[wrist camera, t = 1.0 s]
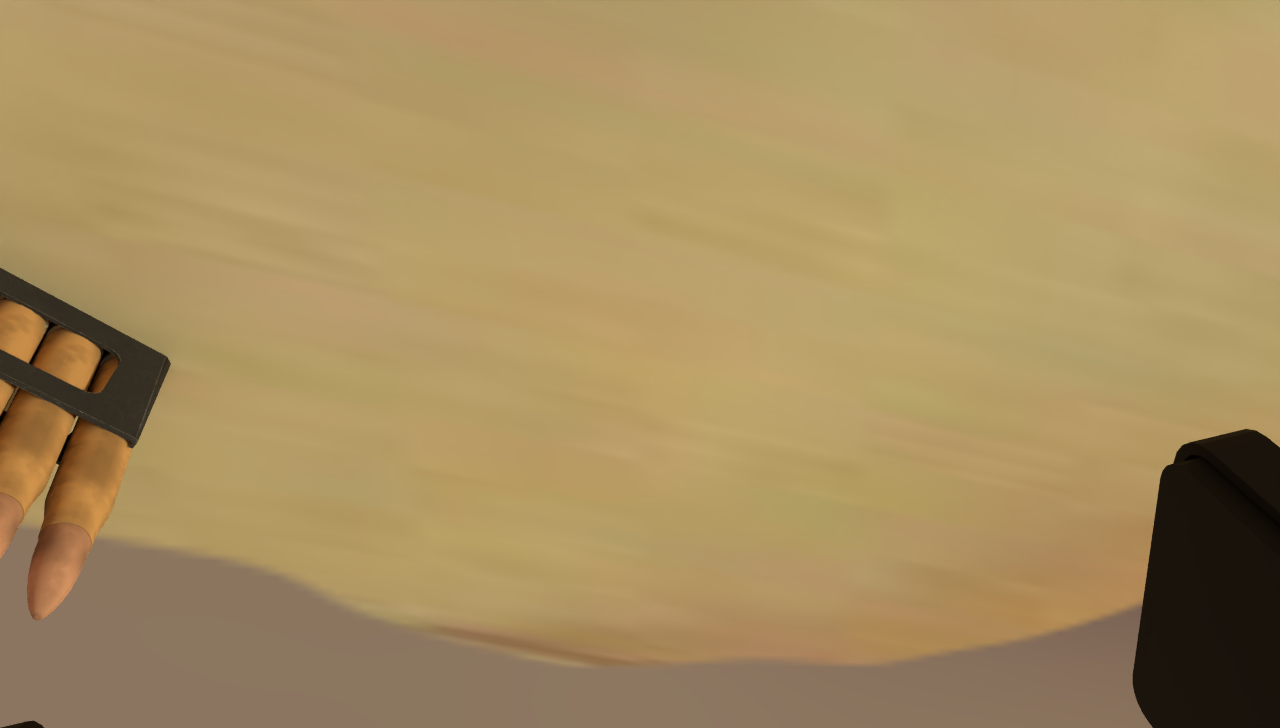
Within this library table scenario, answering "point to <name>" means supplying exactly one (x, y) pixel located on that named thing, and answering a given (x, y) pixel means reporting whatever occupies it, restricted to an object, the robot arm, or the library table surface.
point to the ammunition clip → (65, 427)
